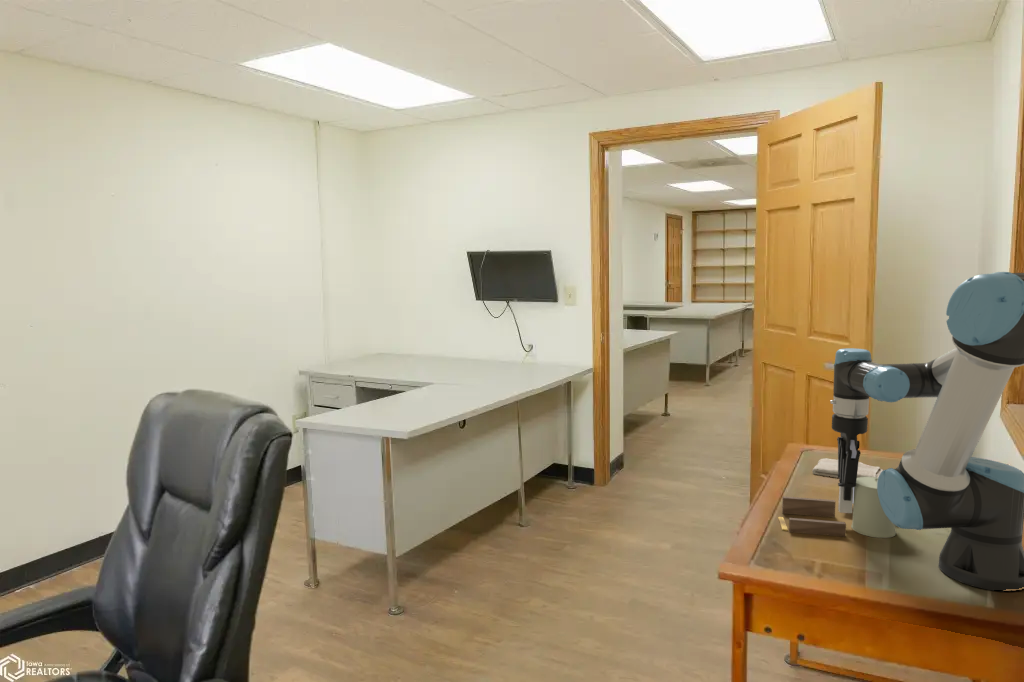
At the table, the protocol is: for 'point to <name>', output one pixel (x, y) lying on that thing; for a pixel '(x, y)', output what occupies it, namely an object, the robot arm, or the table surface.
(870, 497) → the can
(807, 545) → the table surface
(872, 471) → the washcloth
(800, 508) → the channel
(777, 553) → the table surface
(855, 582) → the table surface
